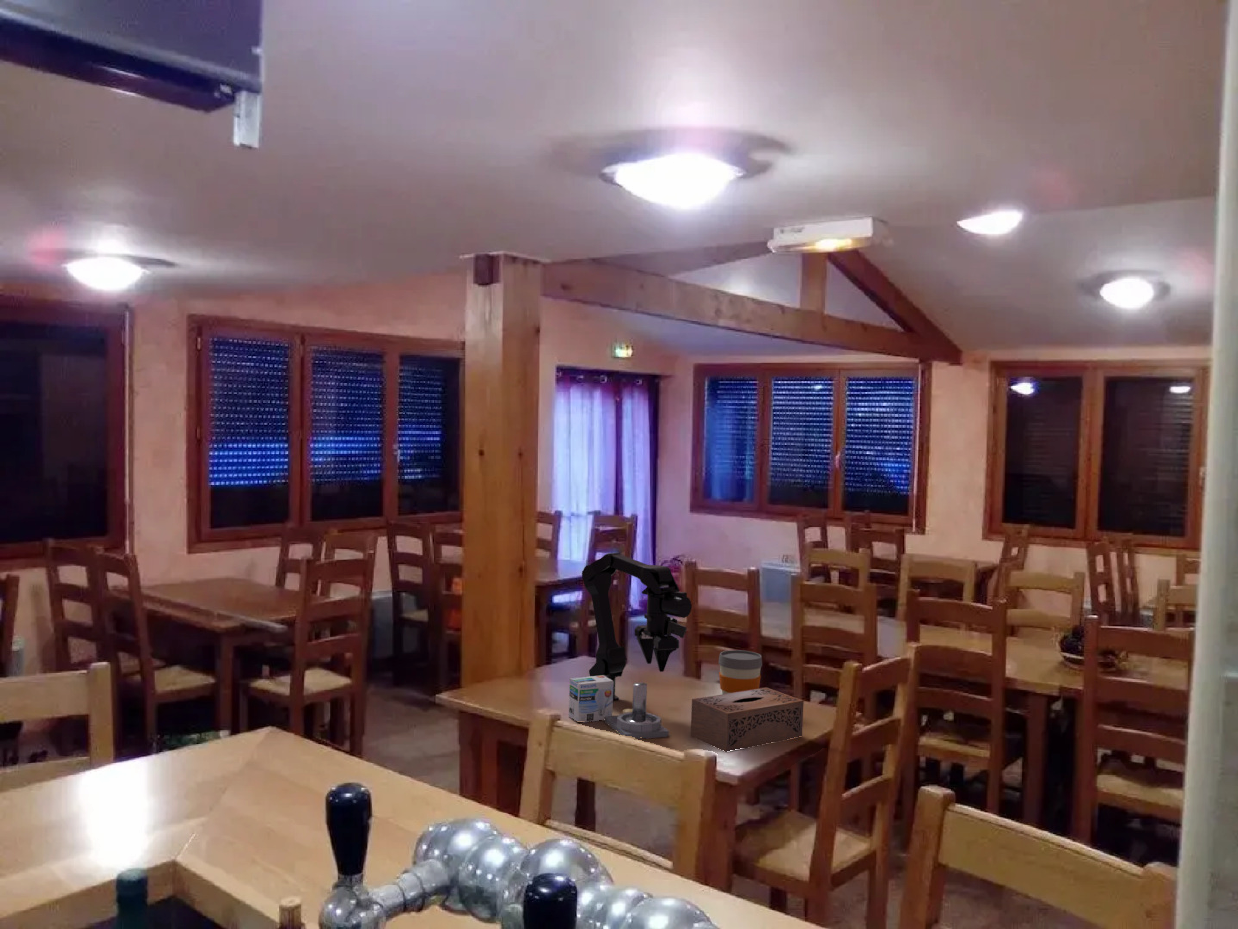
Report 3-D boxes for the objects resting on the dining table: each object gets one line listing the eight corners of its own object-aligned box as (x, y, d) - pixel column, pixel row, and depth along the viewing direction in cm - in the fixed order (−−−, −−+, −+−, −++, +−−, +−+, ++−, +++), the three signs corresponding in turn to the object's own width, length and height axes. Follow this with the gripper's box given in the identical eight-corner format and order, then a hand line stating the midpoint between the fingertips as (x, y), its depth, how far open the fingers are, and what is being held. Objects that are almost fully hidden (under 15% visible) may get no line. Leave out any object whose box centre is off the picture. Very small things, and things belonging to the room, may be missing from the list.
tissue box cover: (765, 723, 277) (766, 687, 276) (802, 738, 265) (803, 700, 264) (690, 737, 263) (691, 699, 262) (725, 753, 251) (727, 713, 250)
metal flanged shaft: (625, 721, 268) (626, 680, 268) (651, 722, 269) (652, 681, 268) (625, 729, 262) (627, 687, 261) (652, 730, 262) (654, 688, 261)
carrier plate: (604, 722, 272) (604, 709, 272) (645, 718, 276) (646, 706, 276) (625, 740, 257) (625, 726, 257) (668, 736, 261) (669, 723, 261)
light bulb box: (577, 723, 270) (579, 684, 270) (567, 717, 276) (568, 678, 276) (613, 719, 275) (614, 680, 275) (602, 712, 281) (603, 674, 280)
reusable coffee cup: (708, 705, 292) (710, 654, 291) (734, 697, 301) (735, 648, 300) (743, 715, 283) (745, 662, 282) (769, 707, 292) (771, 655, 292)
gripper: (697, 617, 274) (695, 674, 275) (670, 605, 292) (668, 658, 293) (659, 619, 271) (657, 676, 271) (634, 606, 288) (632, 660, 289)
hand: (655, 667), depth 281 cm, fingers open, 9 cm apart
